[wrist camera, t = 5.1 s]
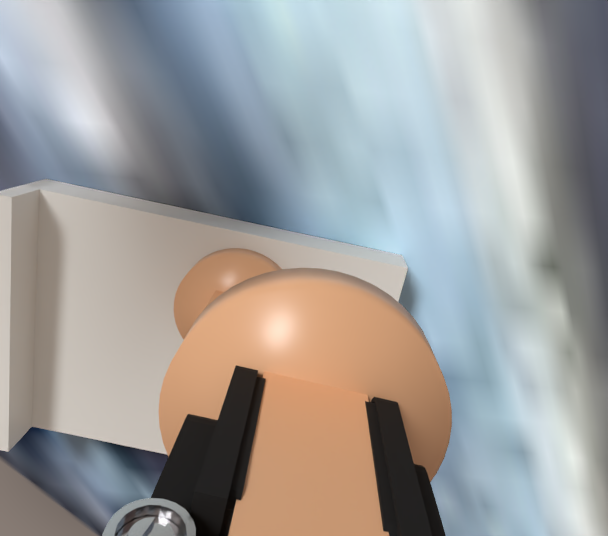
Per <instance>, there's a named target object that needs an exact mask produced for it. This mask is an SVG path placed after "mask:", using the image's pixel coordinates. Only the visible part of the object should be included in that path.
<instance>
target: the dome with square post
mask: <svg viewBox="0 0 608 536" xmlns="http://www.w3.org/2000/svg"><path fill="white" fill-rule="evenodd" d="M236 365H237V366H241V367H246V368H250V369H255V370H258V374H257V377H262V378H265V379H266V380H265V385H264V390H263V395H262V400H261V405H260V410H259V415H258V419H257V424H256V429H255V434H254V439H253V444H252V449H251V454H250V459H249V464H248V469H247V474H246V479H245V484H244V489H243V493H242V498H241V500H237V499H236V504H235V508H234V512H233V516H232V520H231V524H230V528H229V533H228V536H389V532H385V531H383V525H382V518H381V511H380V504H379V497H378V490H377V482H376V475H375V468H374V461H373V454H372V447H371V440H370V433H369V425H368V418H367V411H366V404H365V401H367V402H371V400H372V399H373V397H378V398H382V399H387V400H391V401H395V402H398V405H399V408H400V412H401V416H402V420H403V424H404V428H405V432H406V435H407V439H408V443H409V447H410V451H411V455H412V459H413V463H414V464H417V465H422V466H423V467H425V469H426V471H427V473H428V477H429V480H430V482H431V480H432V479H433V477H434V476H435V475H436V473H437V471H438V469H439V467H440V465H441V463H442V461H443V459H444V456H445V453H446V450H447V447H448V444H449V439H450V433H451V426H452V410H451V403H450V397H449V392H448V389H447V386H446V383H445V380H444V377H443V374H442V372H441V370H440V367H439V365H438V363H437V361H436V358H435V356H434V354H433V351H432V349H431V347H430V345H429V343H428V341H427V339H426V337H425V335H424V333H423V331H422V329H421V328H420V326H419V325H418V323H417V322H416V321H415V319H414V318H413V316H412V315H411V314H410V313H409V312H408V311H407V310H406V309H405V308H404V307H403V306H402V305H401V304H400V303H399V302H398V301H396V300H395V299H394V298H393V297H391V296H390V295H389V294H388V293H386V292H384V291H383V290H381V289H380V288H378V287H376V286H375V285H373V284H371V283H369V282H366V281H364V280H362V279H360V278H357V277H355V276H351V275H348V274H345V273H342V272H338V271H332V270H326V269H320V268H291V269H281V270H277V271H272V272H267V273H263V274H260V275H258V276H255V277H252V278H249V279H247V280H245V281H243V282H241V283H239V284H237V285H235V286H233V287H231V288H230V289H228V290H227V291H225V292H224V293H222V294H221V295H219V296H218V297H217V298H216V299H215V300H214V301H213V302H211V303H210V304H209V305H208V306H207V307H206V308H205V309H204V310H203V312H202V313H201V314H200V315H199V316H198V318H197V319H196V320H195V322H194V323H193V325H192V327H191V328H190V330H189V332H188V333H187V335H186V337H185V338H184V340H183V342H182V344H181V345H180V347H179V349H178V351H177V352H176V354H175V356H174V358H173V359H172V361H171V363H170V365H169V367H168V370H167V372H166V375H165V377H164V380H163V384H162V388H161V392H160V399H159V426H160V431H161V436H162V440H163V444H164V447H165V449H166V452H167V454H168V457H169V455H170V453H171V450H172V448H173V446H174V443H175V441H176V439H177V437H178V434H179V432H180V430H181V427H182V425H183V423H184V420H185V418H186V416H187V415H188V414H192V415H197V416H201V417H206V418H210V419H215V420H218V418H219V415H220V412H221V409H222V406H223V403H224V400H225V396H226V393H227V390H228V387H229V384H230V381H231V378H232V375H233V372H234V369H235V366H236Z"/></svg>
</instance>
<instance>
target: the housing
mask: <svg viewBox="0 0 608 536" xmlns="http://www.w3.org/2000/svg"><path fill="white" fill-rule="evenodd" d="M291 268H320V269H326V270H332V271H338V272H342V273H345V274H348V275H351V276H355V277H357V278H360V279H362V280H364V281H366V282H369V283H371V284H373V285H375V286H376V287H378V288H380V289H381V290H383V291H384V292H386V293H388V294H389V295H390V296H391V297H393V298H394V299H395V300H396V301H399V297H400V294H401V291H402V287H403V284H404V280H405V277H406V273H407V270H408V267H407V265H406V263H405V260H404V258H403V256H402V255H399V254H395V253H390V252H385V251H381V250H376V249H371V248H367V247H362V246H357V245H353V244H348V243H343V242H339V241H334V240H329V239H325V238H320V237H315V236H311V235H306V234H301V233H297V232H292V231H287V230H283V229H278V228H273V227H269V226H264V225H259V224H255V223H250V222H245V221H241V220H236V219H231V218H227V217H222V216H217V215H213V214H208V213H203V212H199V211H194V210H189V209H185V208H180V207H175V206H171V205H166V204H161V203H157V202H152V201H147V200H143V199H138V198H133V197H129V196H124V195H119V194H115V193H110V192H105V191H101V190H96V189H91V188H87V187H82V186H77V185H73V184H68V183H63V182H59V181H54V180H49V179H44V180H40V181H36V182H33V183H29V184H25V185H21V186H18V187H14V188H10V189H6V190H2V191H0V450H3V451H9V450H10V449H11V448H12V447H13V446H14V445H15V444H16V443H17V442H18V441H19V440H20V439H21V438H22V436H23V435H24V434H25V433H26V432H27V431H28V430H29V429H30V428H31V427H32V426H33V427H37V428H42V429H47V430H52V431H57V432H61V433H66V434H71V435H76V436H81V437H85V438H90V439H95V440H100V441H105V442H110V443H114V444H119V445H124V446H129V447H134V448H138V449H143V450H148V451H153V452H158V453H162V454H167V452H166V449H165V447H164V444H163V440H162V436H161V431H160V426H159V399H160V392H161V388H162V384H163V380H164V377H165V375H166V372H167V370H168V367H169V365H170V363H171V361H172V359H173V358H174V356H175V354H176V352H177V351H178V349H179V347H180V345H181V344H182V342H183V340H184V338H185V337H186V335H187V333H188V332H189V330H190V328H191V327H192V325H193V323H194V322H195V320H196V319H197V318H198V316H199V315H200V314H201V313H202V312H203V310H204V309H205V308H206V307H207V306H208V305H209V304H210V303H211V302H213V301H214V300H215V299H216V298H217V297H218V296H219V295H221V294H222V293H224V292H225V291H227V290H228V289H230V288H231V287H233V286H235V285H237V284H239V283H241V282H243V281H245V280H247V279H249V278H252V277H255V276H258V275H260V274H263V273H267V272H272V271H277V270H281V269H291ZM167 455H168V454H167Z"/></svg>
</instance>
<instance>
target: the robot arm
mask: <svg viewBox="0 0 608 536" xmlns="http://www.w3.org/2000/svg"><path fill="white" fill-rule="evenodd" d="M257 374H258V370H255V369H250V368H246V367H241V366H237V365H236V366H235V369H234V372H233V375H232V378H231V381H230V384H229V387H228V390H227V393H226V396H225V400H224V403H223V406H222V409H221V412H220V415H219V418H218V420H215V419H210V418H206V417H201V416H197V415H192V414H188V415H187V416H186V418H185V420H184V423H183V425H182V427H181V430H180V432H179V434H178V437H177V439H176V441H175V443H174V446H173V448H172V450H171V453H170V455H169V457H168V460H167V462H166V464H165V467H164V469H163V471H162V473H161V476H160V478H159V480H158V483H157V485H156V487H155V490H154V492H153V494H152V497H151V498H147V499H142V500H137V501H134V502H132V503H130V504H128V505H125V506H124V507H122V508H121V509H120V510H119V511H117V512H116V513H115V514H114V515H113V517H112V518H111V520H110V521H109V523H108V524H107V526H106V528H105V530H104V533H103V535H102V536H228V533H229V528H230V524H231V520H232V516H233V512H234V508H235V504H236V499H237V500H241V498H242V493H243V489H244V484H245V479H246V474H247V469H248V464H249V459H250V454H251V449H252V444H253V439H254V434H255V429H256V424H257V419H258V415H259V410H260V405H261V400H262V395H263V390H264V385H265V380H266V379H265V378H262V377H257ZM365 404H366V411H367V418H368V425H369V433H370V440H371V447H372V454H373V461H374V468H375V475H376V482H377V490H378V497H379V504H380V511H381V518H382V525H383V531H385V532H389V536H445V532H444V529H443V525H442V522H441V518H440V515H439V511H438V508H437V504H436V501H435V498H434V494H433V491H432V487H431V484H430V480H429V477H428V473H427V471H426V469H425V467H423V466H422V465H417V464H414V463H413V459H412V455H411V451H410V447H409V443H408V439H407V435H406V432H405V428H404V424H403V420H402V416H401V412H400V408H399V405H398V402H395V401H391V400H387V399H382V398H378V397H373V399H372V400H371V402H367V401H365Z"/></svg>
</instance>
